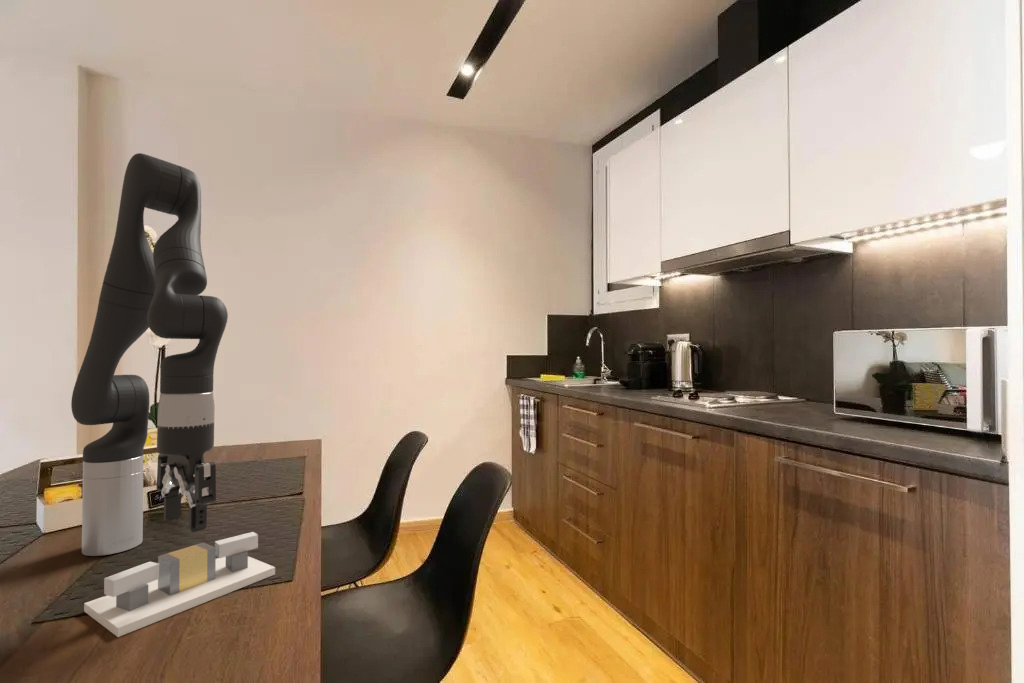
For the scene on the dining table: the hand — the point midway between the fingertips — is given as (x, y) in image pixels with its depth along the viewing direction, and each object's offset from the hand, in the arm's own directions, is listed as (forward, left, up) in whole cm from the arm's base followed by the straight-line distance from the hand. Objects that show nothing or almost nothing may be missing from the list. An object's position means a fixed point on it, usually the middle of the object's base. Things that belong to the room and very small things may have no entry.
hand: (184, 524), depth 78 cm
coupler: (0, 0, -9) cm, 9 cm away
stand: (0, 0, -11) cm, 11 cm away
